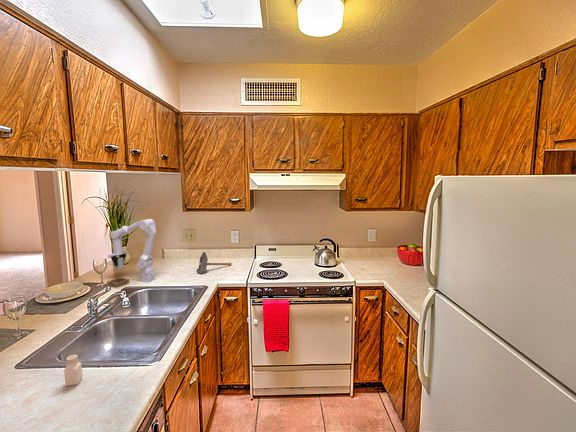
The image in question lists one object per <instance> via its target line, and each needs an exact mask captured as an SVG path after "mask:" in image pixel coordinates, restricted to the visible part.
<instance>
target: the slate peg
mask: <svg viewBox="0 0 576 432" xmlns="http://www.w3.org/2000/svg"><path fill="white" fill-rule="evenodd" d="M117 257H118V266H115V265H114V269H115V270H122V269H124V268H125V267H124V266H125V265H124V264H123V257H119V256H117Z"/></svg>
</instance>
